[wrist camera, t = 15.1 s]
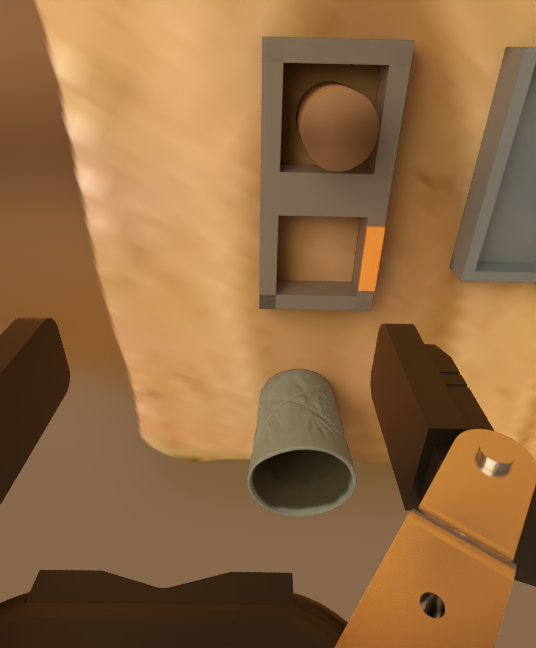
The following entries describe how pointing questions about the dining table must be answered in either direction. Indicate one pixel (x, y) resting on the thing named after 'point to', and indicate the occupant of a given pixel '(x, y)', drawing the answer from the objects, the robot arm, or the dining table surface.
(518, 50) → the tray
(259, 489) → the grey cup
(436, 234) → the dining table surface
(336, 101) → the walnut peg
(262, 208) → the slot holder
